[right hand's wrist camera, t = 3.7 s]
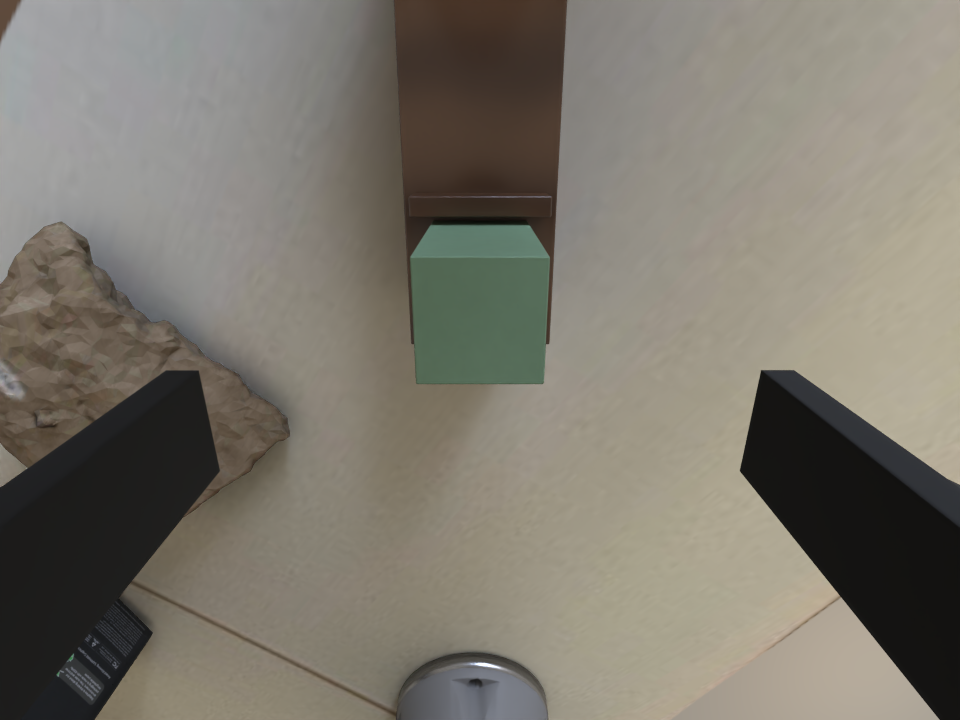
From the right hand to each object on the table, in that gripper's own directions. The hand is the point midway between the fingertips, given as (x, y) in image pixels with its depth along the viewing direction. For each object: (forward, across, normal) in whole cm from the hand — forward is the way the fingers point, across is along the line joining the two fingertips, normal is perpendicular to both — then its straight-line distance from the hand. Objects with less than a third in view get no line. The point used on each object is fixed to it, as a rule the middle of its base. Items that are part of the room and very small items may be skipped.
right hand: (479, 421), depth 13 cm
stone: (+27, +26, +11) cm, 39 cm away
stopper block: (+18, 0, 0) cm, 18 cm away
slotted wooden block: (+27, 0, -8) cm, 28 cm away
